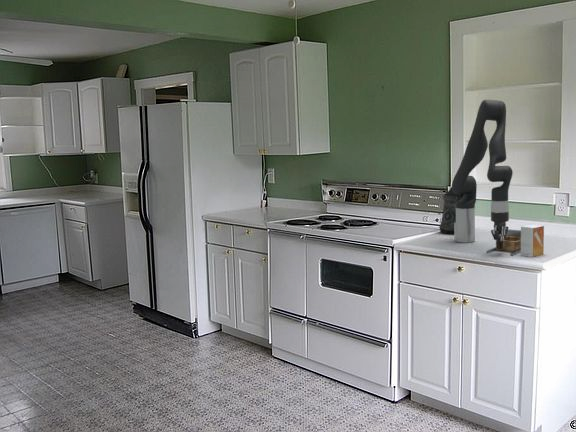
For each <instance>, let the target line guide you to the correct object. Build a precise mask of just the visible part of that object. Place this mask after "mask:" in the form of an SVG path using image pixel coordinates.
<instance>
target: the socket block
mask: <svg viewBox="0 0 576 432" xmlns="http://www.w3.org/2000/svg"><path fill="white" fill-rule="evenodd" d="M495 247H496V251H497V252H507V253H513V252H515V251H518V250H520V249H521V237H513V236H506V238H504V240H503V249H497V241H496V240H495Z"/></svg>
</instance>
